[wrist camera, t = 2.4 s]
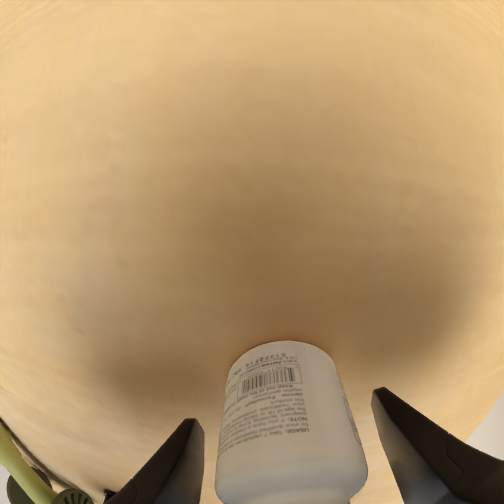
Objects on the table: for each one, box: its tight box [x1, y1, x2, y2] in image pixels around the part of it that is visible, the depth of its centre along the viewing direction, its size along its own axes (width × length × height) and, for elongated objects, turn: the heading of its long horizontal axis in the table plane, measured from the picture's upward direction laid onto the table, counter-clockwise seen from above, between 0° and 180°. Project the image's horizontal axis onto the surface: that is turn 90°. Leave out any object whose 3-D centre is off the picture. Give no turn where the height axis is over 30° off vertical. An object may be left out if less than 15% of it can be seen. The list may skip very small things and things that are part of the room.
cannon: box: [0, 422, 94, 504], centre depth 13 cm, size 25×12×11 cm, turn 5°
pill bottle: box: [215, 340, 368, 504], centre depth 6 cm, size 4×4×8 cm
